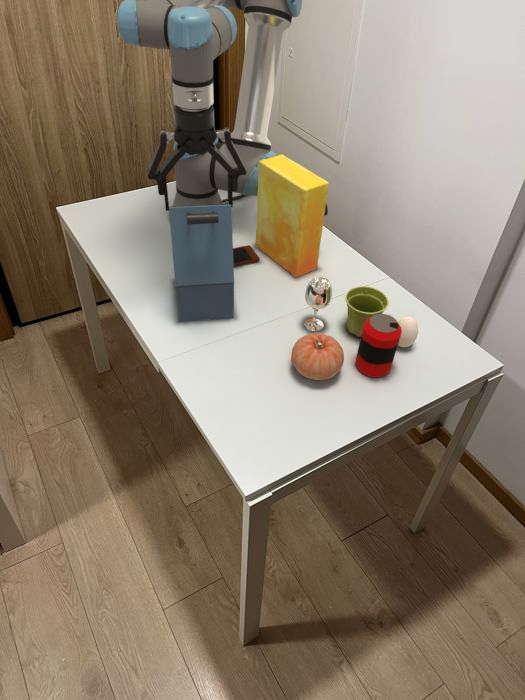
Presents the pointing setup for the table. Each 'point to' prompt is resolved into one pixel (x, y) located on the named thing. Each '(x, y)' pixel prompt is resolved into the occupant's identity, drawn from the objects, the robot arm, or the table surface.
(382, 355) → the soda can
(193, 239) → the lid
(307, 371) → the orange pumpkin
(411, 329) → the egg
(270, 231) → the mottled yellow carton
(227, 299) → the blue-grey hollow box
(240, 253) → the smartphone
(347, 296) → the plant pot
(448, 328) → the table surface
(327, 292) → the wineglass
